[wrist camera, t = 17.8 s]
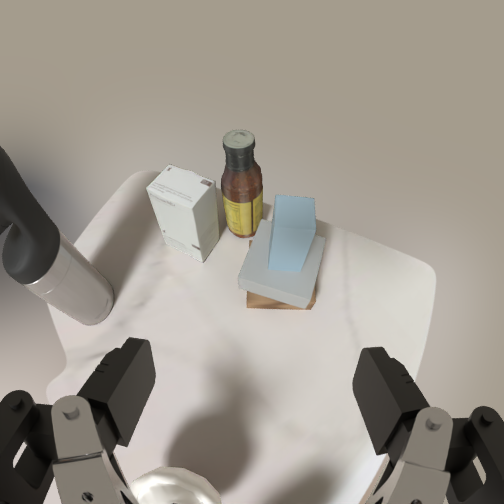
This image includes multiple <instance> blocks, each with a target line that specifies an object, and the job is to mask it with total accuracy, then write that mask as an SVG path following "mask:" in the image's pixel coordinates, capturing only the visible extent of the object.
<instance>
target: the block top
mask: <svg viewBox="0 0 504 504" xmlns="http://www.w3.org/2000/svg"><path fill="white" fill-rule="evenodd" d="M271 226H272V222H271V221H267V220H264V219H261V221H260V224H259V226H258V229H257V231H256V234H255V236H254V238H253V241H252V243H251V246H250V248H249V251H248V253H247V256H246V258H245V261H244V263H243V266H242V268H241V270H240V273H239V275H238V284H239V288H240V289H243V290H246V291H249V292H252V293H255V294H258V295H261V296H264V297H267V298H271V299H274V300H277V301H280V302H283V303H286V304H290V305H293V306H296V307H299V308H303V309H305V308H306V307H307V305H308V303H309V302H310V300H311V297H312V293H313V290H314V286H315V282H316V278H317V274H318V270H319V266H320V262H321V258H322V254H323V250H324V245H325V241H326V238H324V237H321V236H318V235H314V238H313V240H312V243H311V246H310V248H309V251H308V254H307V256H306V259H305V261H304V264H303V266H302V269H301V271H300V272H295V271H281V270H268V258H269V241H270V234H271Z"/></svg>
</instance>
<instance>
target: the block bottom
mask: <svg viewBox="0 0 504 504" xmlns="http://www.w3.org/2000/svg"><path fill="white" fill-rule="evenodd" d="M252 241H253V240H250V241H249V248H250V246H251V243H252ZM315 302H316V296H315V286H314V290H313V293H312V297H311V300H310V302H309V303H308V305H307V307H306V308H305V309H303V308H299V307H296V306H293V305H290V304H286V303H283V302H280V301H277V300H274V299H271V298H267V297H264V296H261V295H258V294H255V293H252V292H249V291H247V308H260V309H303V310H311V308H312V307H313V305H314V304H315Z"/></svg>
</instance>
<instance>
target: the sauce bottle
mask: <svg viewBox="0 0 504 504" xmlns="http://www.w3.org/2000/svg"><path fill="white" fill-rule="evenodd" d="M254 147H255V139H254V136H253V134H252V133H250V132H249V131H245V130H233V131H230V132H228V133H227V134H226V135H225V136H224V138H223V148H224V150H225V153H226V166H225V170H224V173H223V175H222V178H221V190H222V196H223V202H224V209H225V214H226V220H227V225H228V227H229V230H230V231H231V232H232V233H233V234H234V235H236V236H237V237H240V238H248V237H252V236H254V235H255V234H256V231H257V229H258V226H259V224H260V221H261V219H262V207H263V185H262V174H261V168H260V166H259V165H258V164H257V163H256V162H255V160H254V152H253V149H254Z"/></svg>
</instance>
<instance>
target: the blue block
mask: <svg viewBox="0 0 504 504" xmlns="http://www.w3.org/2000/svg"><path fill="white" fill-rule="evenodd" d="M315 232H316V217H315V204H314V198H307V197H296V196H286V195H276V196H275V204H274V211H273V219H272V226H271V234H270V241H269V258H268V270H281V271H295V272H300V271H301V269H302V266H303V264H304V261H305V259H306V256H307V254H308V251H309V248H310V246H311V243H312V240H313V238H314V235H315Z"/></svg>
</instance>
